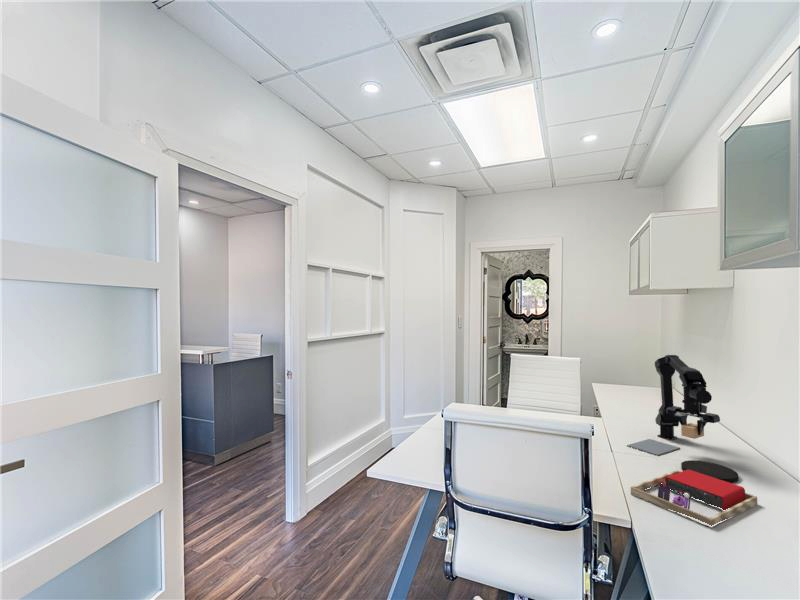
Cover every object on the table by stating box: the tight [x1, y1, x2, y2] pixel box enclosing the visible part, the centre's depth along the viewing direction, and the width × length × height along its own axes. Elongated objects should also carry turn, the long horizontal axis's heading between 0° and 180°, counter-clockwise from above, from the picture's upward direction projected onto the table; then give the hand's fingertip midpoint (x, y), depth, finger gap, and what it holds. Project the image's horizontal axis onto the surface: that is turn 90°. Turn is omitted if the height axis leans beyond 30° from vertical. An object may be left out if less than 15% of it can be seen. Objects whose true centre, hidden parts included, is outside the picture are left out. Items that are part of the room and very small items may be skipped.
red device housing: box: [664, 469, 746, 510], centre depth 136 cm, size 18×14×5 cm
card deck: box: [680, 422, 705, 440], centre depth 172 cm, size 5×8×4 cm, turn 116°
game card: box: [657, 483, 691, 510], centre depth 129 cm, size 7×5×9 cm
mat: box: [626, 438, 681, 457], centre depth 183 cm, size 18×14×1 cm
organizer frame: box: [630, 469, 758, 526], centre depth 134 cm, size 30×25×2 cm
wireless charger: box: [680, 459, 739, 484], centre depth 154 cm, size 18×18×2 cm
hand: (692, 433), depth 172 cm, fingers closed on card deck, 5 cm apart
